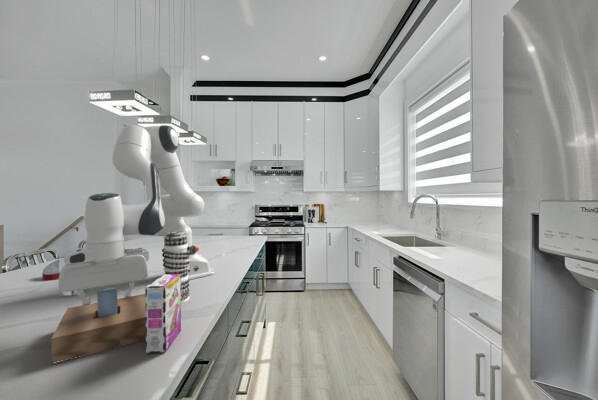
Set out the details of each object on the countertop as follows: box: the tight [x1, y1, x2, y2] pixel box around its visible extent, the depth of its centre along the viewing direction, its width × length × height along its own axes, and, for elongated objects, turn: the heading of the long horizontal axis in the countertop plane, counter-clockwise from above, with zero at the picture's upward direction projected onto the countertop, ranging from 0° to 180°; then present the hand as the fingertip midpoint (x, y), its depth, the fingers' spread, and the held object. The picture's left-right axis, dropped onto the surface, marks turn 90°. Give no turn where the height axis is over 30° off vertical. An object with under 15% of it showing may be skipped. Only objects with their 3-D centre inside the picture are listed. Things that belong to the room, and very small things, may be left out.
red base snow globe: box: [41, 259, 60, 282], centre depth 129 cm, size 11×10×10 cm
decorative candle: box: [161, 231, 190, 304], centre depth 99 cm, size 9×9×25 cm
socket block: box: [51, 293, 146, 363], centre depth 76 cm, size 20×20×6 cm
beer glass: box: [58, 255, 78, 298], centre depth 107 cm, size 7×7×15 cm
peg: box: [96, 287, 118, 318], centre depth 76 cm, size 4×4×12 cm
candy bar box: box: [144, 274, 182, 354], centre depth 71 cm, size 11×5×16 cm, turn 5°
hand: (107, 300), depth 76 cm, fingers open, 8 cm apart
